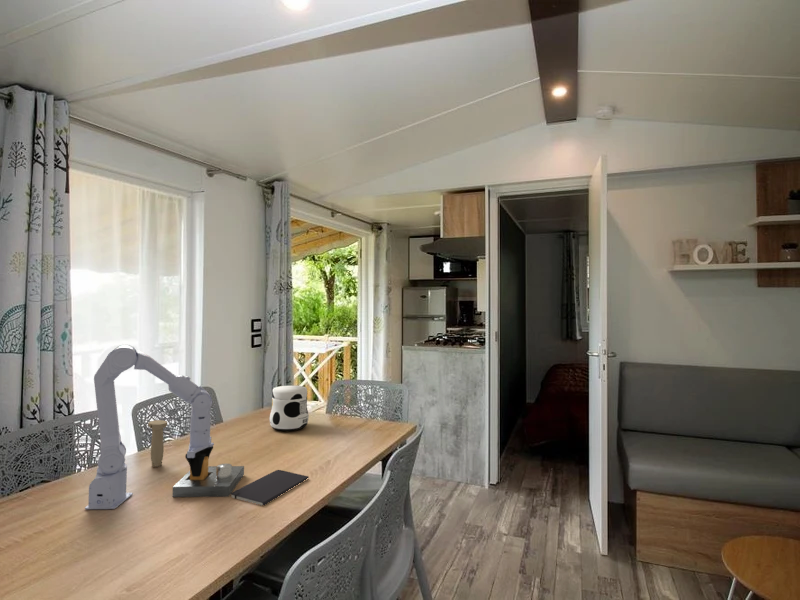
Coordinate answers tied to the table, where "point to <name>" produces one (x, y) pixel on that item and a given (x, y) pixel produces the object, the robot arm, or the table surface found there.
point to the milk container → (289, 408)
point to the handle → (157, 441)
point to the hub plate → (210, 482)
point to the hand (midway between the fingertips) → (199, 473)
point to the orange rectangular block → (203, 472)
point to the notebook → (268, 487)
